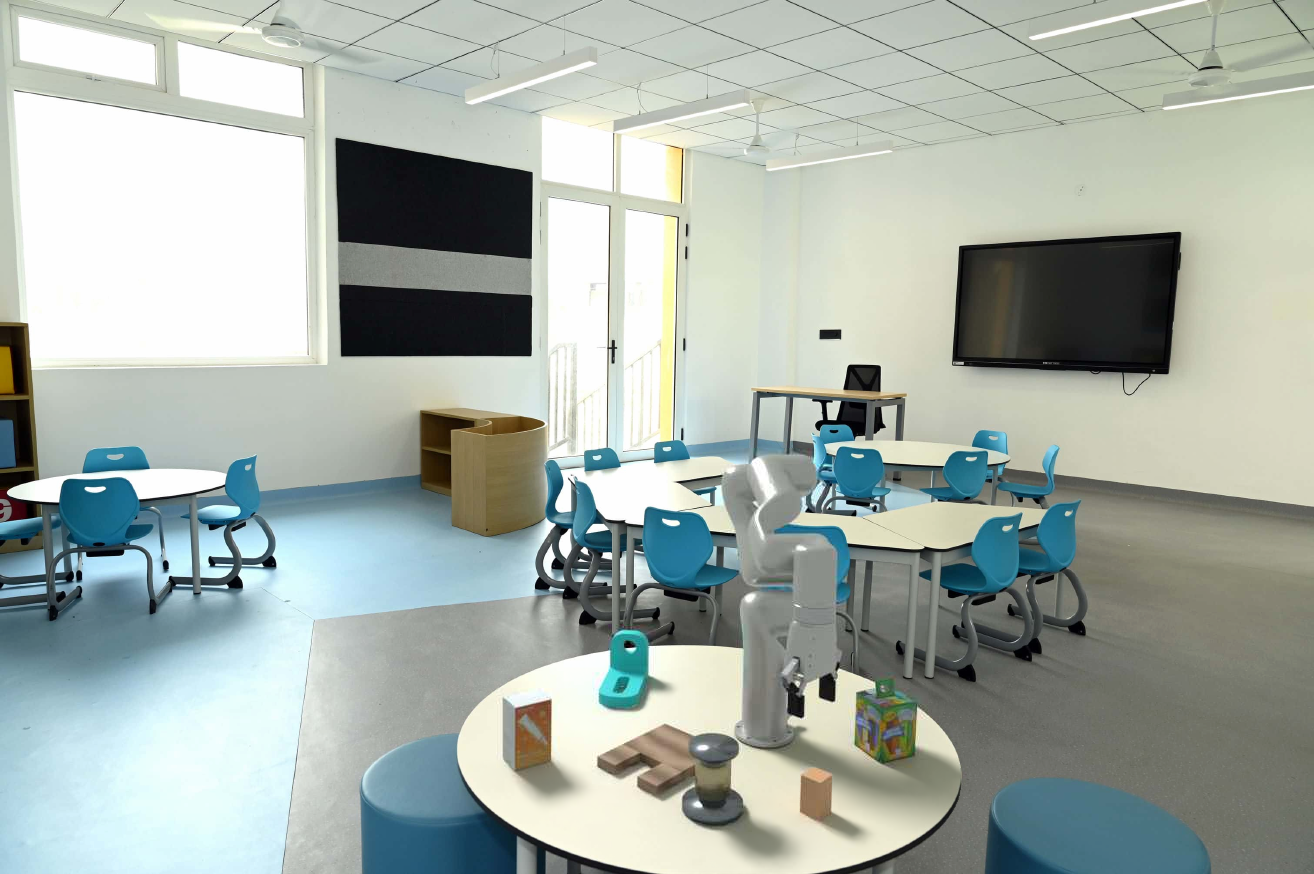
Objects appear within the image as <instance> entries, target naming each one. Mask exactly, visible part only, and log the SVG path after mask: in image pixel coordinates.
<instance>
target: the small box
mask: <svg viewBox="0 0 1314 874" xmlns="http://www.w3.org/2000/svg"><path fill="white" fill-rule="evenodd" d="M552 701H553V700H552V698H551V696H549V695H547V694H546V693H545V692H544V691H542V690H541V689H540V688H535V689H531V690H527V691H526V690H525V691H521V692H517V693H514V694H510V695H506V696H502V759H503V760H504V761H505V762H506V763H507V764H508V765H509V767H511V768H512V769H513V770H514V771H518V770H522V769H526V768H530V767H533V766H535V765H540V764H543V763H547V762H551V761H552V722H553V721H552V714H553V710H552V705H553V704H552V703H553V702H552Z"/></svg>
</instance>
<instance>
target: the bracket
mask: <svg viewBox="0 0 1314 874" xmlns="http://www.w3.org/2000/svg"><path fill="white" fill-rule="evenodd" d="M626 641H630V642H632V643H633V644H634V645H635V649H633V650H628V649H626V648H625V646H624V643H625V642H626ZM649 644H650V643H649V640H648V638H647V636H646V635H645V634H644V633H643V632H642V631H640V630H629V629H623V630H619V631H617V632H616V633H615V634H614V635H613V637H612V639H611V641H610V644H609V669H608V671H606V672H607V673H606V675H605V677H604V678H603V680H602V683H601V685H600V687H599V688H598V703H599V705H601V704H602V705H603V707H605V706H606V708H612V707H618V708H617V709H622V708H621V707H630V708H633V707H632V706H634V705H636V704H637V703H638V704H639V702H640V700H641V697H642V694H643V692H642V691H644V689H643V688H645V686H644V685H646V684H645V682H646V683H647V681H646V679H647V680H648V678H649V668H650V667H649V664H650V663H649V661H650V660H649V659H650V657H649V655H650V653H649V651H650V645H649ZM647 677H648V678H647ZM620 686H627V687H625V690H624V691H623V692H618V690H619V688H618V687H620ZM620 688H621V687H620ZM617 689H618V690H617ZM616 691H617V692H616ZM641 693H642V694H641ZM640 696H641V697H640ZM639 699H640V700H639ZM638 701H639V702H638ZM638 704H637V705H638ZM602 705H601V706H602ZM637 705H636V706H637ZM619 707H620V708H619ZM634 707H635V706H634Z"/></svg>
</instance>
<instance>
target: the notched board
mask: <svg viewBox="0 0 1314 874" xmlns="http://www.w3.org/2000/svg"><path fill="white" fill-rule="evenodd" d="M694 736H695V735H693V734H691V733H688V732H685V731H684V730H681V729H679V728H676V727H674V726H672V725H669V724H667V723H663V724H661V725H660V726H658V727H655V728H653V729H651V730H649V731H647V732H645V733H643V734H641V735H639V736H636V737H635V738H633V739H630V740H629V741H627V742H624V743H622V744H620V745H618V746H616V747H613V748H611V749H610V750H608V751H606V752H603V753H601V754H600V755H597V757H596V758H597V759H596V760H597V761H596V762H597V763H596V765H597V767H598V766H599V767H598V768H600V767H602V768H603V769H602V768H601V769H602V770H604V769H605V770H604V771H606V770H608V771H609V772H608V771H607V772H608V773H610V772H611V774H612V775H614V776H616V775H618V774H620V773H622V772H624V771H626V770H628V769H630V768H631V766H632V767H634V766H635V765H637V764H639V763H641V762H642V763H641V764H643V765H645V764H646V765H645V766H647V765H648V766H647V767H649V766H650V767H649V768H650V769H648V770H647V771H644V772H643V773H641V774H639V775H637V777H636V779H637V780H636V781H637V783H636V787H637V788H640V789H641V790H644V791H646V792H647V793H650V794H651V795H654V796H655V797H658V796H659V794H660V795H661V794H663V793H665V792H667V791H669V790H670V789H672V788H673V786H674V787H676V786H677V785H679V784H680V782H681V783H682V782H684V781H686V780H688V779H689V778H691V777H692V776H694V774H695V764H696V758H695V757H693V756H692V755H691V754H690V753H689V749H688V748H689V741H690V739H691V738H693V737H694ZM629 767H630V768H629ZM651 767H652V768H651ZM627 768H628V769H627ZM625 769H626V770H625ZM623 770H624V771H623ZM666 790H667V791H666Z"/></svg>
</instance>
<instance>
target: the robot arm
mask: <svg viewBox="0 0 1314 874" xmlns="http://www.w3.org/2000/svg"><path fill="white" fill-rule="evenodd" d="M817 485H818V471H817V467H816V465H815V463H814V461H813V460H812V459H811V458H810V457H809V456H807V455H804V454H764V455H760V456H757V457H755V458H753V459H752V460H751V461H750V463H743V464H742V463H741V464H736V465H732V466H730V467H728V468H726V469H725V471H724V472H723V474H722V476H721V494H722V500H723V504H724V506H725V510H726V512H727V514H728V516H729V518H730V521H731V523H732V526H733V528H734V531H735V537H736V546H737V552H738V553H737V554H738V560H739V561H738V562H739V565H740V566H739V567H740V572H741V576H742V579H743V581H744V583H746V584H747V585H748V586H750V587H755V588H756V587H757V588H763V587H764V588H769V587H770V588H774V587H776V588H777V587H779V588H781V587H789V588H792V589H763V590H756V591H751V592H750V593H747V594H746V595H744V596H743V597H742V599H741V600H740V604H739V614H740V615H739V616H740V617H739V618H740V622H741V623H740V624H741V625H740V626H741V631H742V651H743V653H742V654H743V656H742V694H741V696H742V697H741V698H742V700H741V702H742V704H741V719H740V720H739V721H738V722H736V723H735V725H734V727H733V728H734V730H733V731H734V732H733V733H734V735H735V737H736V738H737V739H738V740H739V741H741V742H742V743H744V744H747V745H749V746H753V747H757V748H763V749H764V748H765V749H766V748H770V749H773V748H777V747H778V748H779V747H783V746H786V745H787V744H790V742H791V741H793V739H794V730H793V729H794V728H792V726H791V725H789V724H788V721H789V719H790V718H791V717H795V718H799V719H804V717H805V707H806V706H805V705H806V704H805V703H806V702H805V700H806V695H804V694H803V693H804V691H805V689H806V686H807V685H808V683H812V682H814V681H815V680H818V679H819V680H818V698H819V699H822V700H824V701H827V702H830V703H834V702H836V698H837V697H836V696H837V695H836V693H837V691H836V690H837V688H836V687H837V679H838V677H839V676H838V675H839V674H838V671H839V669H840V666H841V663H840V662H841V659H842V655H843V651H842V650H841V649H839V648H838V635H837V634H838V633H837V624H836V623H837V622H836V621H837V620H836V619H837V617H836V616H837V585H838V584H837V581H838V580H837V579H838V550H837V548H836V547H835V546H834V545H832V544H831V542H829V540H828V538H827V537H826V536H825V535H823V534H821V533H813V532H812V533H808V532H807V533H775V531H776V530H778V529H781V528H783V527H785V526H787V525H789V524H791V523H792V522H794V520H796V519H797V518H798V517H799V515H800V514H801V512H802V509H803V500H802V498H805V497H808V496H809V495H811V494H812V493H813V492H814V491H815V489H816V487H817ZM754 502H756V503H757V505H756V504H755V503H754ZM785 636H787V640H786V649H785V648H784V646H783V645H782V644H781V643H780V642H779V641H778V640H777V638H778V637H779V638H780V637H785ZM799 675H801V676H799ZM802 676H803V677H802ZM796 682H799V685H797V684H796Z"/></svg>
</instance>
